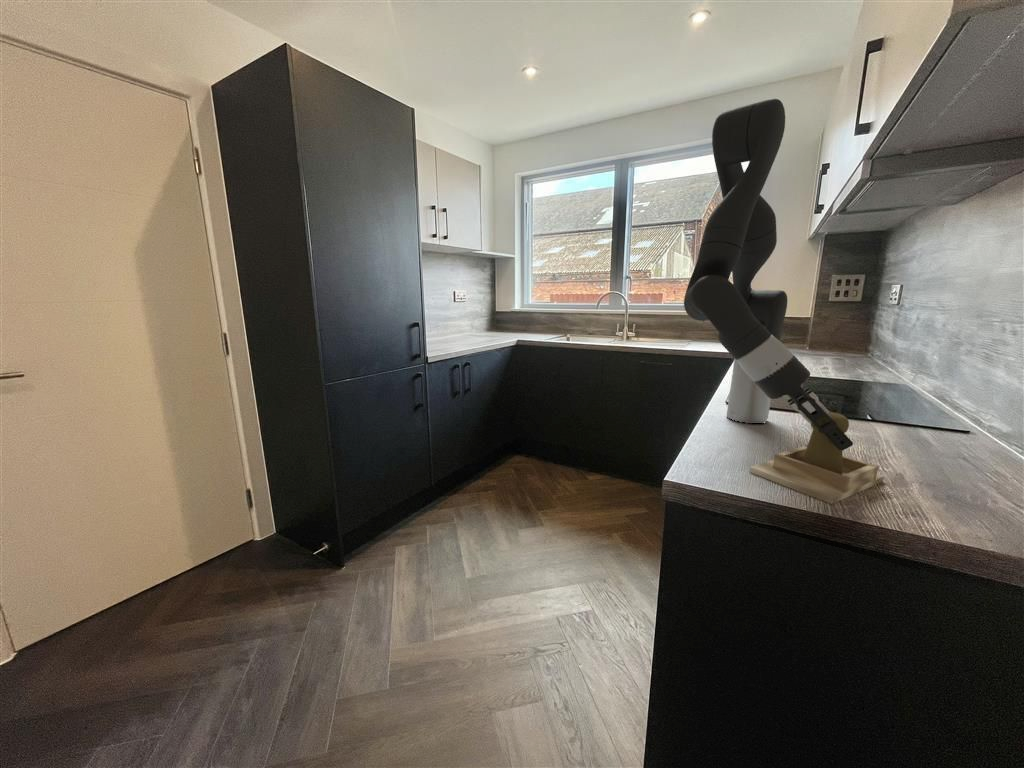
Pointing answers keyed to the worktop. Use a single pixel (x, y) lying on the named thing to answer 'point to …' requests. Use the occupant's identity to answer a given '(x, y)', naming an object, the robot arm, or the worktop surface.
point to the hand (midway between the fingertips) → (840, 440)
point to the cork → (825, 446)
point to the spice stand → (818, 475)
